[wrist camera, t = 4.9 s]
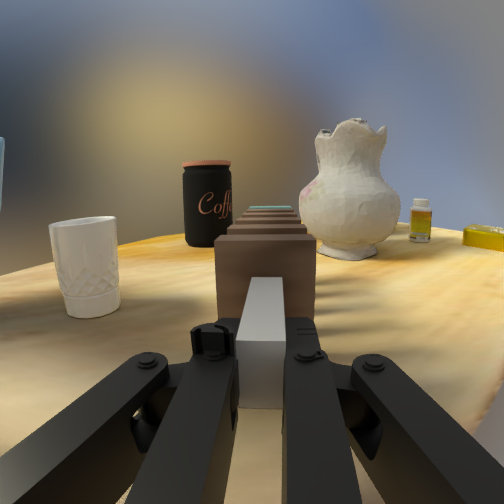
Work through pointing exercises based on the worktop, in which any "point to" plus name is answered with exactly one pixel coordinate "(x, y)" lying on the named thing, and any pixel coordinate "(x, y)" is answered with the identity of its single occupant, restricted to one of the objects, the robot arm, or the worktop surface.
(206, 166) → the coffee jar
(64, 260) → the white cup
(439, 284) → the worktop surface
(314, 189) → the ceramic pitcher
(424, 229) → the supplement bottle
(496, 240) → the element tile
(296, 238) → the domino
